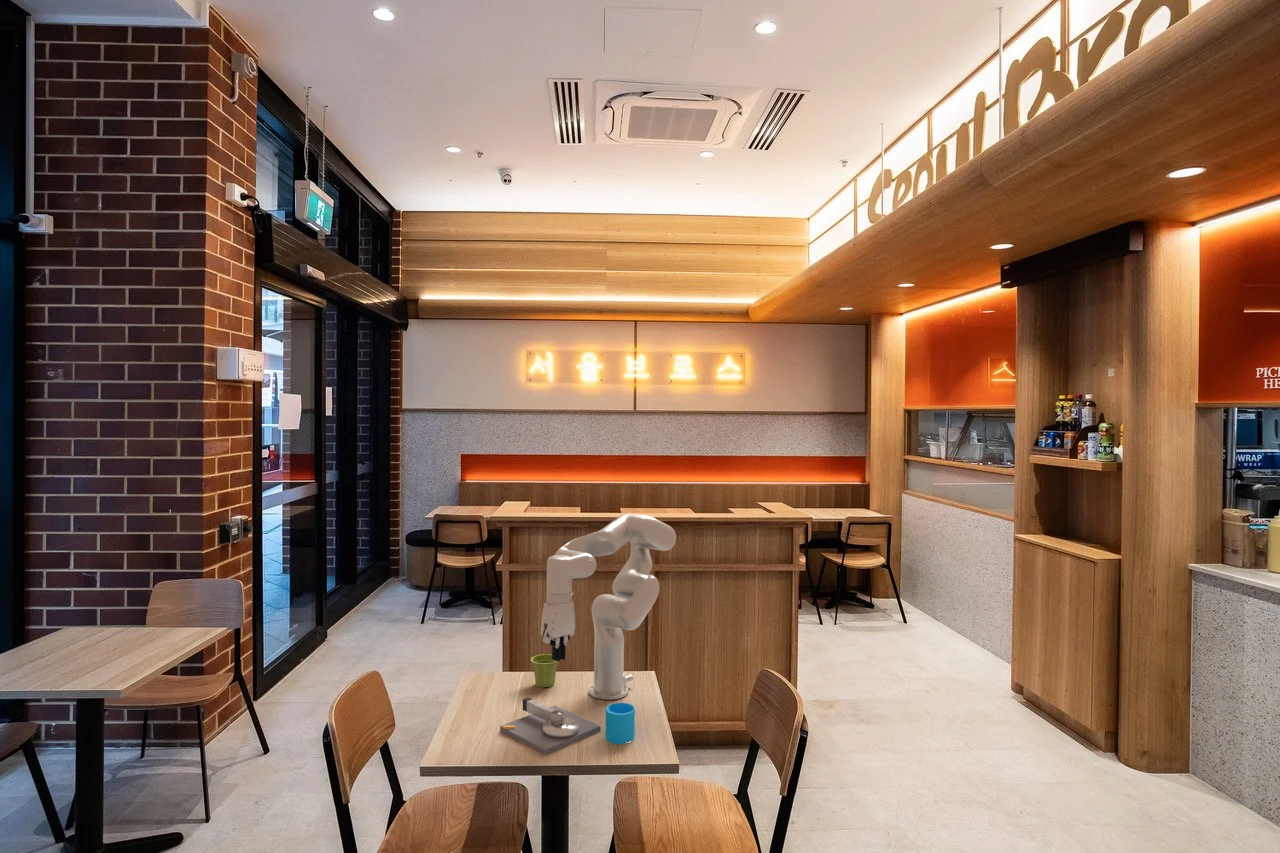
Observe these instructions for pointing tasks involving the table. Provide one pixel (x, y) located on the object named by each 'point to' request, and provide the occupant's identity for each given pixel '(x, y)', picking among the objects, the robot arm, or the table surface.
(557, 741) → the stand base
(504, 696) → the table surface
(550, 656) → the plant pot
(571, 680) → the table surface
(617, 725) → the mug
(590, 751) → the table surface
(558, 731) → the lever
